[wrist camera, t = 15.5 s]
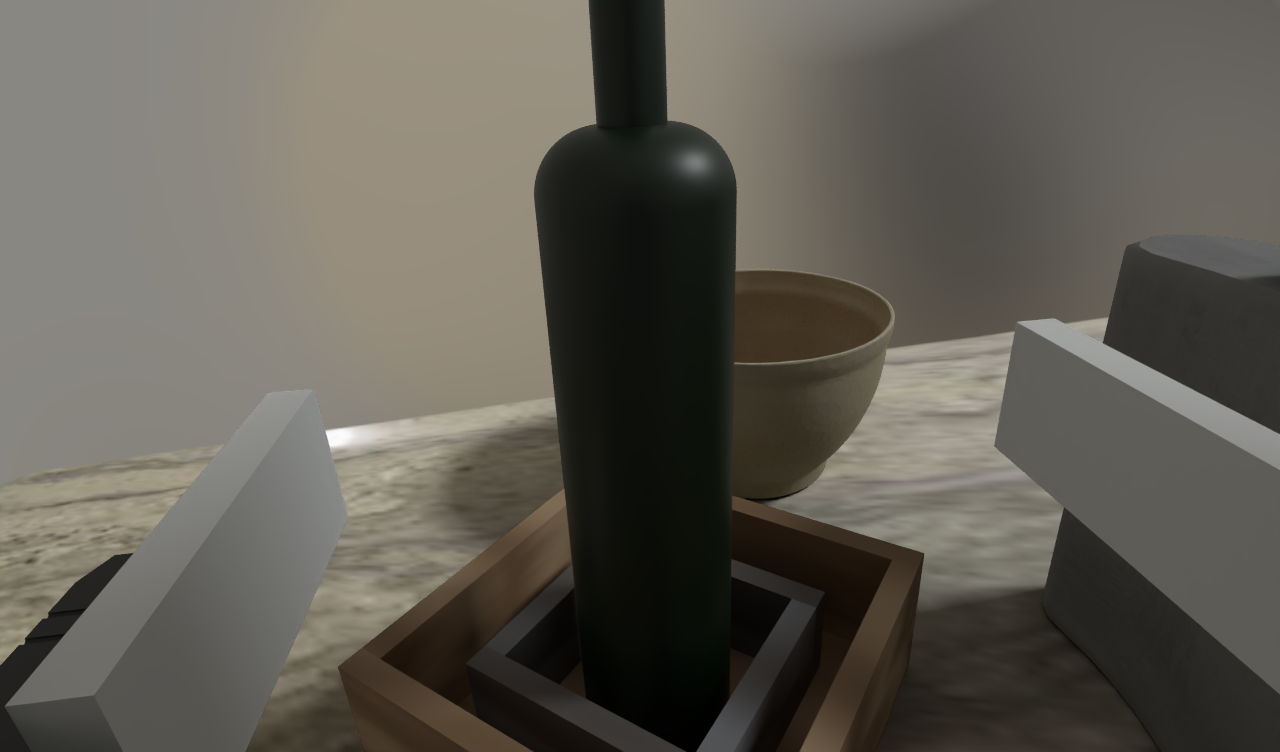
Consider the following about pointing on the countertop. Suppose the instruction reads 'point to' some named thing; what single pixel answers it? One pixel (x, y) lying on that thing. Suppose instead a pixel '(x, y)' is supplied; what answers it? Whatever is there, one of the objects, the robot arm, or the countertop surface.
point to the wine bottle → (644, 383)
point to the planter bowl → (800, 374)
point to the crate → (552, 662)
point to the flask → (1105, 582)
